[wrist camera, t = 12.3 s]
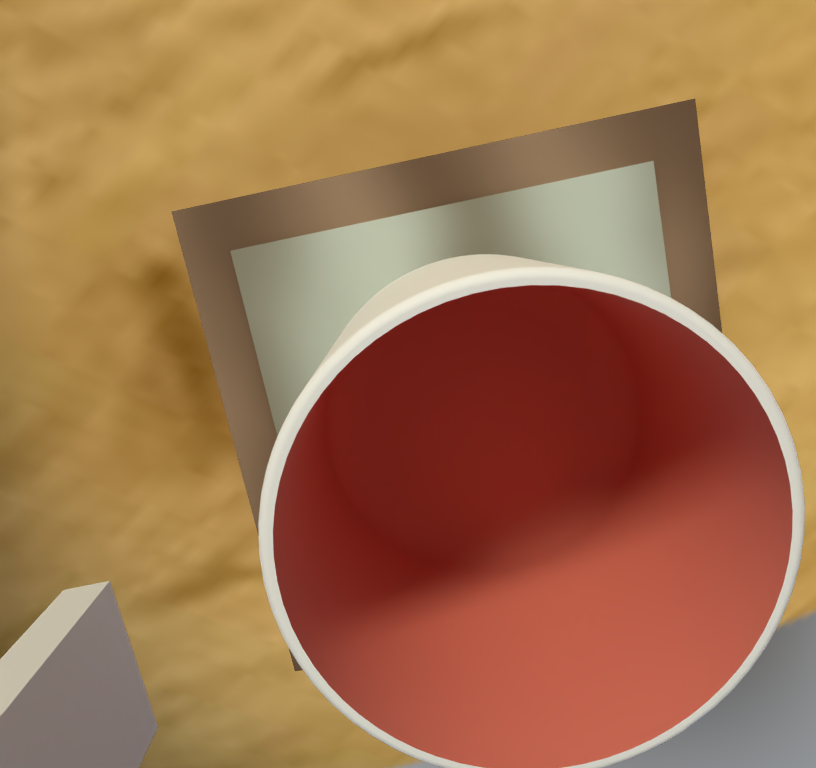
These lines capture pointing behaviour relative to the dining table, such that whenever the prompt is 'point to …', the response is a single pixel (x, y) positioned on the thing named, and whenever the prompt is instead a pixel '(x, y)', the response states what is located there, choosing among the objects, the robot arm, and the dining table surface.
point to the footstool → (436, 245)
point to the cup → (529, 517)
